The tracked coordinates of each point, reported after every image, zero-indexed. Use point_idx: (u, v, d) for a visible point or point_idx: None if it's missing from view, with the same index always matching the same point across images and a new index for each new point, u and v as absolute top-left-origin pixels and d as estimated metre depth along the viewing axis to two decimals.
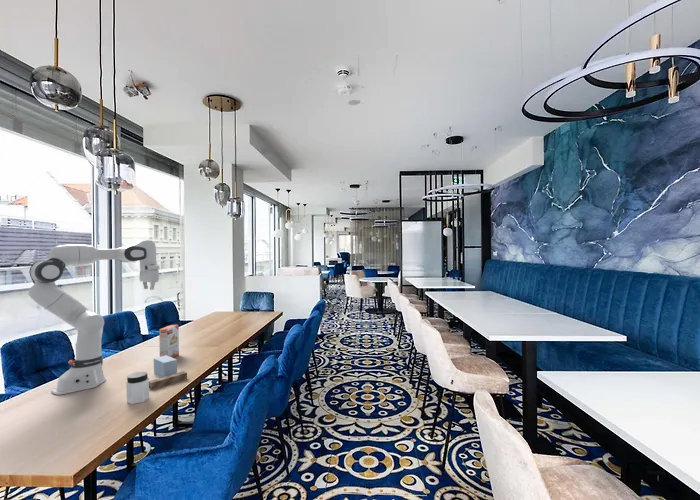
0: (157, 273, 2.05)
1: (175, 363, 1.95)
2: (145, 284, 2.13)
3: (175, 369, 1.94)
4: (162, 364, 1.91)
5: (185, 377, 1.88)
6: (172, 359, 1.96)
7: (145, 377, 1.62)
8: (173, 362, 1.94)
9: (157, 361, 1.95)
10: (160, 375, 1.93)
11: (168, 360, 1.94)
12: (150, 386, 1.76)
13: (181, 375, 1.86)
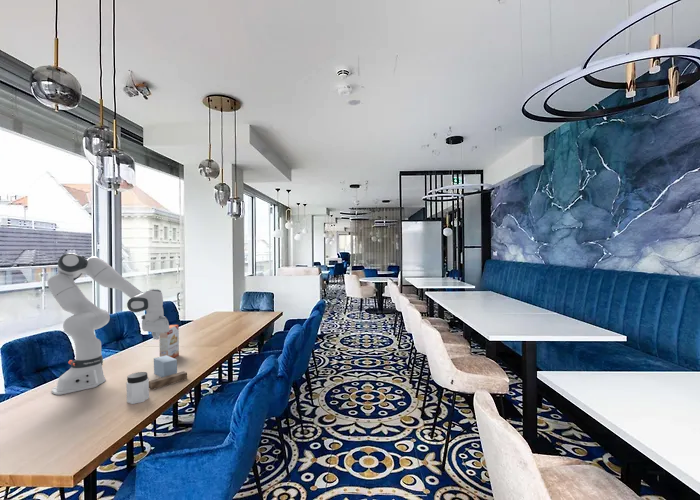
0: None
1: (175, 363, 1.95)
2: None
3: (175, 369, 1.95)
4: (162, 364, 1.91)
5: (185, 377, 1.88)
6: (172, 359, 1.96)
7: (145, 377, 1.62)
8: (173, 362, 1.94)
9: (157, 361, 1.95)
10: (160, 375, 1.93)
11: (168, 360, 1.94)
12: (150, 386, 1.76)
13: (181, 375, 1.86)
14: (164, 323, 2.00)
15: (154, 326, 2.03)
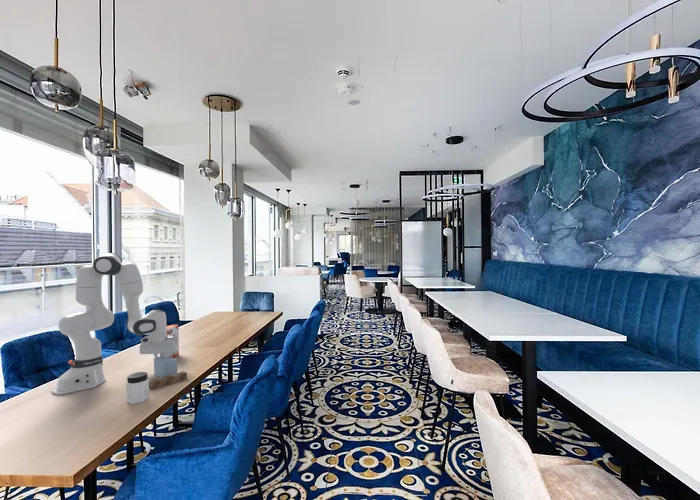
0: None
1: (175, 363, 1.94)
2: None
3: (175, 369, 1.94)
4: (162, 364, 1.91)
5: (185, 377, 1.88)
6: (172, 359, 1.95)
7: (145, 377, 1.62)
8: (173, 361, 1.93)
9: (157, 361, 1.95)
10: (160, 375, 1.93)
11: (168, 360, 1.94)
12: (150, 386, 1.76)
13: (181, 375, 1.86)
14: (174, 343, 2.02)
15: (159, 347, 2.01)
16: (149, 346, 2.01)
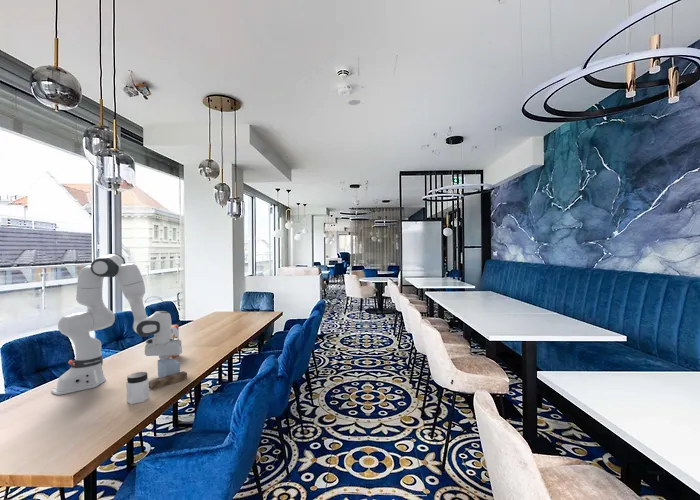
0: None
1: (178, 366, 1.89)
2: None
3: (178, 372, 1.89)
4: (164, 367, 1.86)
5: (185, 377, 1.88)
6: (175, 362, 1.90)
7: (145, 377, 1.62)
8: (176, 364, 1.88)
9: (160, 363, 1.91)
10: None
11: (171, 363, 1.89)
12: (150, 386, 1.76)
13: (181, 375, 1.86)
14: (178, 345, 1.97)
15: (164, 349, 1.97)
16: (154, 348, 1.97)
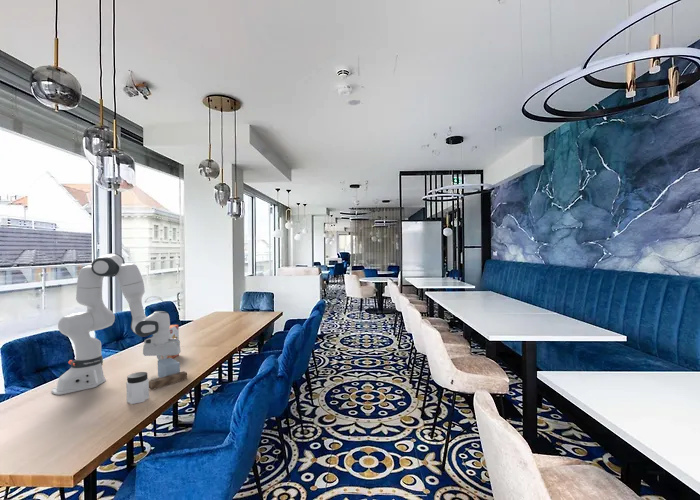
0: None
1: (178, 366, 1.89)
2: None
3: (178, 372, 1.89)
4: (164, 367, 1.86)
5: (185, 377, 1.88)
6: (175, 362, 1.90)
7: (145, 377, 1.62)
8: (176, 365, 1.88)
9: (160, 364, 1.91)
10: None
11: (171, 363, 1.89)
12: (150, 386, 1.76)
13: (181, 375, 1.86)
14: (177, 345, 1.98)
15: (162, 349, 1.98)
16: (152, 348, 1.98)
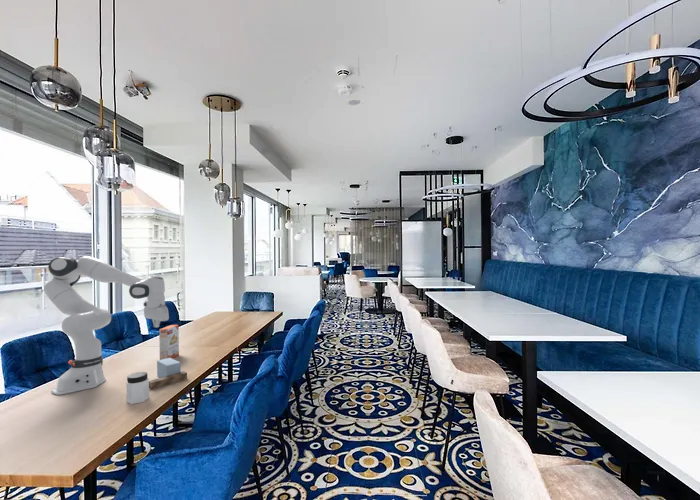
0: None
1: (178, 366, 1.89)
2: None
3: (178, 372, 1.89)
4: (165, 367, 1.86)
5: (185, 377, 1.88)
6: (175, 362, 1.90)
7: (145, 377, 1.62)
8: (176, 364, 1.89)
9: (160, 364, 1.90)
10: None
11: (171, 363, 1.89)
12: (150, 386, 1.76)
13: (181, 375, 1.86)
14: (163, 311, 1.97)
15: (154, 314, 2.01)
16: (149, 311, 2.04)
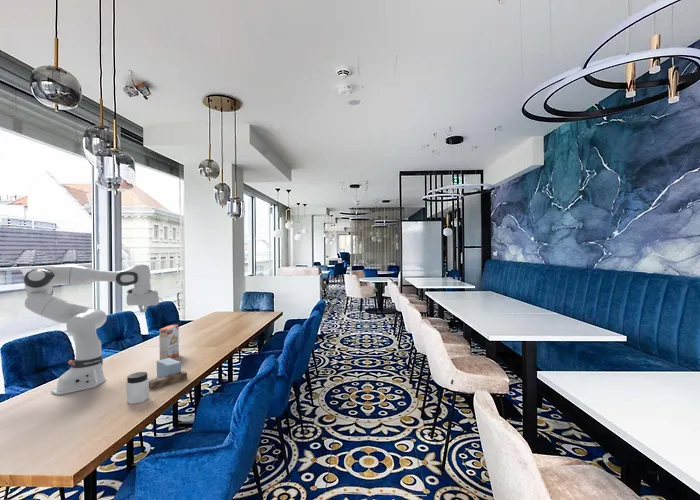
0: None
1: (179, 366, 1.90)
2: None
3: None
4: (166, 367, 1.86)
5: (185, 377, 1.88)
6: (176, 362, 1.91)
7: (145, 377, 1.62)
8: (177, 364, 1.89)
9: (160, 364, 1.90)
10: None
11: (172, 363, 1.89)
12: (150, 386, 1.76)
13: (181, 375, 1.86)
14: (155, 296, 2.11)
15: (142, 299, 2.12)
16: (134, 298, 2.13)
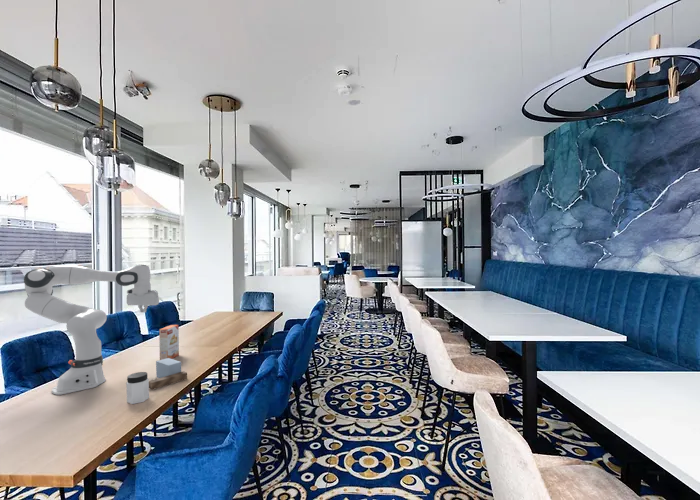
0: None
1: (179, 365, 1.90)
2: None
3: None
4: (166, 367, 1.86)
5: (185, 377, 1.88)
6: (176, 361, 1.91)
7: (145, 377, 1.62)
8: (177, 364, 1.89)
9: (160, 364, 1.90)
10: None
11: (172, 363, 1.89)
12: (150, 386, 1.76)
13: (181, 375, 1.86)
14: (155, 296, 2.11)
15: (142, 299, 2.12)
16: (134, 298, 2.13)
